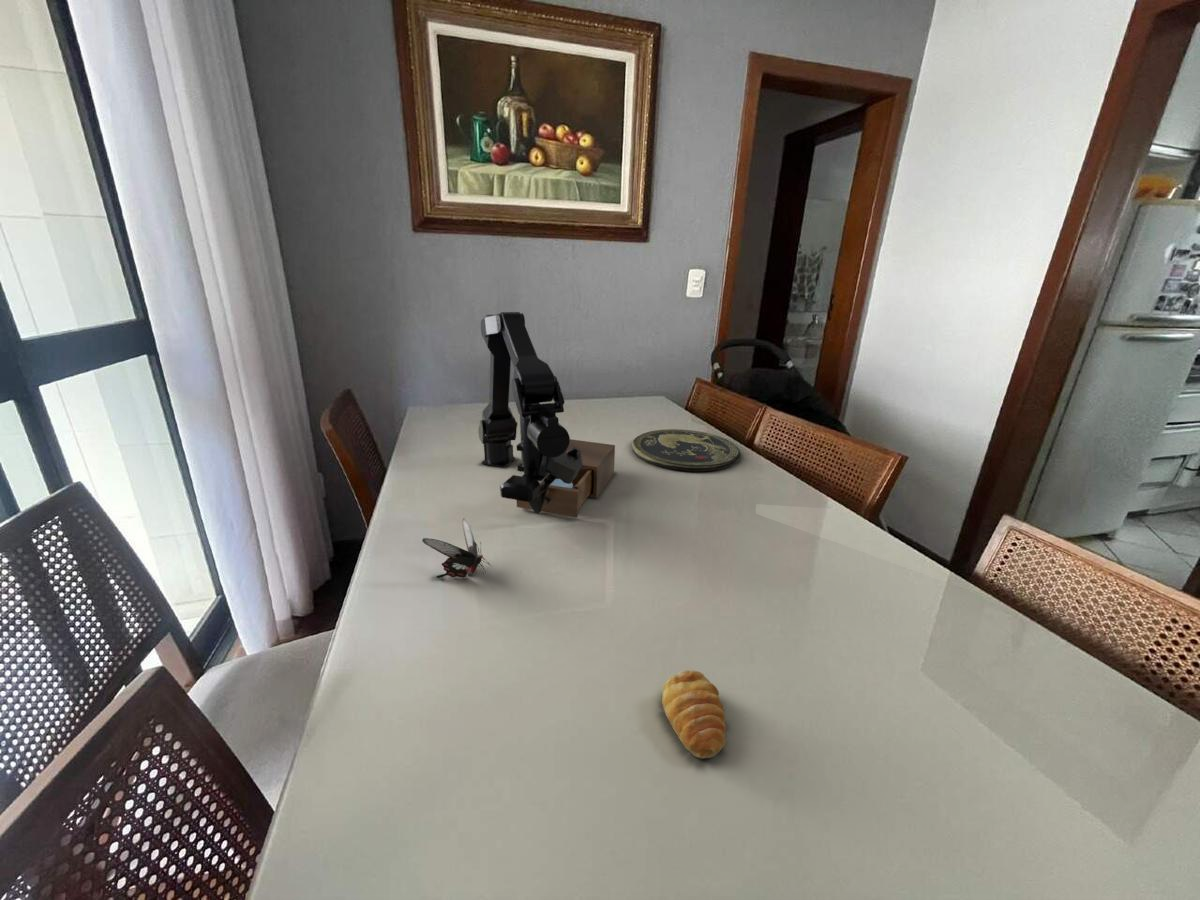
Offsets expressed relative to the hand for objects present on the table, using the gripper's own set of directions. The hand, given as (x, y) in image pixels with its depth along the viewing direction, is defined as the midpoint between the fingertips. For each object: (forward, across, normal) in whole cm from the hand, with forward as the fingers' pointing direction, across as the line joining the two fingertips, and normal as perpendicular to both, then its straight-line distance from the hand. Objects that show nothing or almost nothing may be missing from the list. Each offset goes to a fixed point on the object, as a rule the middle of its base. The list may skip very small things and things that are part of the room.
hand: (537, 512), depth 96 cm
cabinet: (+3, +22, 0) cm, 23 cm away
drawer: (+2, +10, 0) cm, 10 cm away
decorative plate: (+3, +52, -22) cm, 56 cm away
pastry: (+3, -34, -35) cm, 49 cm away
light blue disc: (+1, +10, 0) cm, 10 cm away
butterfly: (+3, -21, +5) cm, 21 cm away
